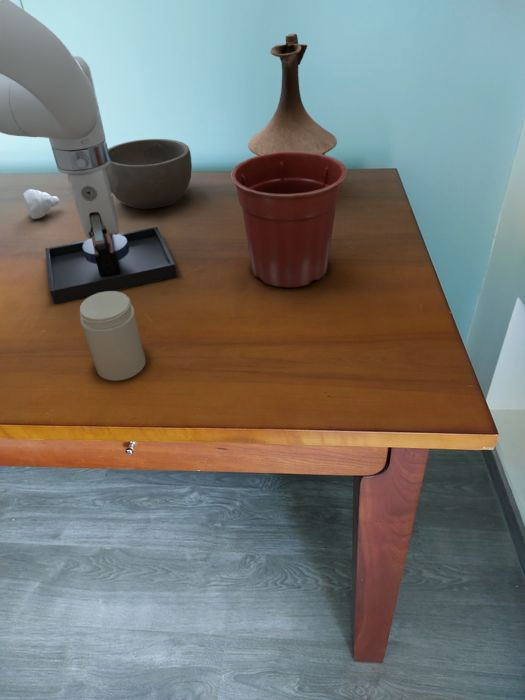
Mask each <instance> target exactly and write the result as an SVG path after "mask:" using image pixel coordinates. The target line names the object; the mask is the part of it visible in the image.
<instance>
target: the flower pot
mask: <svg viewBox="0 0 525 700" xmlns="http://www.w3.org/2000/svg"><path fill="white" fill-rule="evenodd" d="M347 173H348V172H347V168H346V166H345V165H344V163H343V162H341V161H340V160H338V159H337V158H335V157H332V156H329V155H327V154H325V155H323V154H319V153H312V152H302V151H284V152H274V153H267V154H263V155H259V156H258V155H256V156H252V157H249V158H246V159H245V160H243V161H241V162H239V163H238V164H236V165H235V166H234V167H233V169H232V170H231V173H230V178H231V182H232V183H233V185H234V186H235V188H236V194H237V199H238V203H239V205H240V207H241V209H242V216H243V222H244V228H245V234H246V240H247V247H248V253H249V257H250V264H251V270H252V273H253V275H254V276H255V278H259V279H260V280H262V282H263V283H264V284H266V285H269V286H272V287H277V288H289V289H291V288H300V287H305V286H308V285H310V284H311V282H313V281H315V280H316V281H319V280H320V279H321V278H322V279H323V277H324V276H325V274H326V273H327V270H328V264H329V258H330V251H331V244H332V236H333V230H334V229H333V228H334V222H335V216H336V209H337V204H338V203H339V201H340V198H341V189H342V184H343V182H344V181H345V179H346V177H347Z"/></svg>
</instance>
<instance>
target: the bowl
mask: <svg viewBox="0 0 525 700" xmlns="http://www.w3.org/2000/svg"><path fill="white" fill-rule="evenodd" d="M108 152H109V156H110V161H111V162H110V164H109V165H108V166H107V167H105V169H106V172H107V176H108V180H109V184H110V188H111V192H112V195H113V196H114V197H115V198H116V199H117V200H118V201H119V202H121V203H123V204H124V205H126V206H127V207H129V208H133V209H140V210H149V209H158V208H163V207H168V206H170V205H173V204H174V203H176V202H178V201H179V200H180V199H181V198H182V197H183V196H184V194H185V193H186V191H187V189H188V187H189V186H190V182H191V178H192V171H193V170H192V169H193V168H192V167H193V165H192V154H191V149H190V147H189V145H187V144H186V143H184V142H182V141H179V140H175V139H168V138H146V139H136V140H131V141H126V142H122V143H118V144H116V145H113V146H110V147H108Z"/></svg>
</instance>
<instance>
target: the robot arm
mask: <svg viewBox="0 0 525 700" xmlns="http://www.w3.org/2000/svg"><path fill="white" fill-rule="evenodd" d="M0 133H1V134H4V135H8V136H13V137H14V136H15V137H25V138H26V137H28V138H44V139H45V138H46V139H48V140H49V144H50V147H51V151H52V154H53V158H54V161H55V164H56V168H57V171H59V172H60V173H62V174H66V175H67V177H68V181H69V185H70V188H71V191H72V195H73V198H74V202H75V206H76V209H77V212H78V215H79V219H80V222H81V225H82V228H83V231H84V234H85V237H86V238H87V239H92V243H93V247H94V252H95V254H94V256H95V260H96V263H97V267H98V271H99V274H100V277H107V276H113V275H119V274H120V268H119V264H118V260H117V255H116V251H113V246H112V241H111V237H110V234H111V235H112V234H115V235H117V234H119V232H120V228H119V227H120V226H119V221H118V215H117V210H116V205H115V201H114V198H113V193H112V192H111V188H110V184H109V180H108V176H107V172H106V169H105V167H107V166H108V165H109V164H110V162H111V161H110V156H109V152H108V148H109V147H108V144H107V143H108V142H107V139H106V134H105V130H104V126H103V120H102V116H101V111H100V107H99V102H98V98H97V93H96V89H95V84H94V79H93V75H92V71H91V68H90V66H89V63H88V62H87V61H86V59H84V58H83V57H81V56H78V55H74V54H72V53H71V52H70V50H69V48H68V47H67V46H66V45H65V44H64V42H62V40H61V39H60V38H59V37H58V36H57V35H56V34H55V33H54V32H53V31H52V30H51V29H49V27H47V25H45V24H44V23H43V22H42V21H40V20H39V19H37V18H36V17H34V16H33V15H32V14H31V13H29V12H27V11H26V10H24V9H23V8H21V7H20V6H19V5H17V4H16V3H14V2H13V1H12V0H0ZM106 237H107V241H108V243H107V242H105V240H104V238H106Z"/></svg>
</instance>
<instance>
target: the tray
mask: <svg viewBox="0 0 525 700" xmlns="http://www.w3.org/2000/svg"><path fill="white" fill-rule="evenodd" d="M119 234H120V235H123V236H124V237H126V239H127V241H128V245H129V252H128V254H127V255H126V256H125V257H124V258H122V259H121V260H119V261H118V264H119V268H120V274H119V275H113V276H107V277H100V274H99V271H98V267H97V264H94V263H91V262H89V261H87V260H86V258H85V257H84V254H83V248H82V246H83V244H84V242H85V241H87V240H88V239H87V240H82V241H76V242H71V243H66V244H61V245H56V246H50V247H46V248H44V250H45V259H46V269H47V278H48V288H49V289H48V290H49V294H50V296H51V300H52V302H53V304H54V305H55V304H59V303H64V302H69V301H72V300H78V299H82V298H88V297H90V296H92V295H94V294H97V293H100V292H105V291H118V290H122V289H128V288H131V287H136V286H141V285H147V284H150V283H154V282H159V281H163V280H167V279H173V278H176V277H178V274H177V273H178V272H177V266H176V263H175V261H174V259H173V257H172V254H171V253H170V250H169V248H168V246H167V244H166V242H165V240H164V238H163V236H162V234H161V231H160V230H159V227H158V226H152V227H148V228H143V229H138V230H132V231H128V232H127V231H126V232H122V233H119Z"/></svg>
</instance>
